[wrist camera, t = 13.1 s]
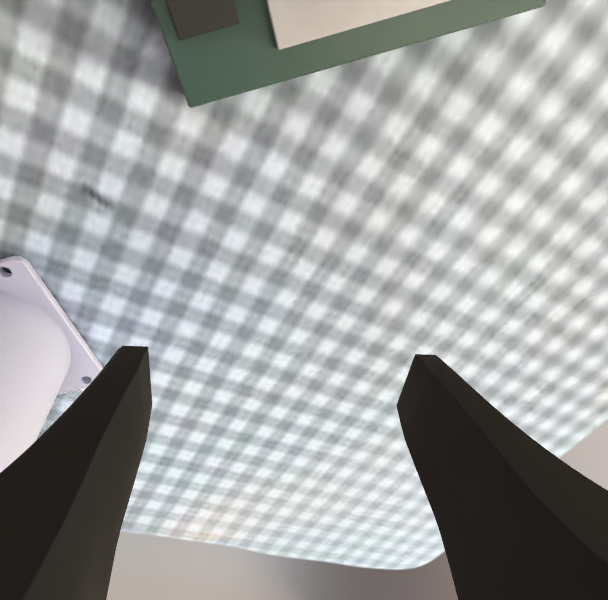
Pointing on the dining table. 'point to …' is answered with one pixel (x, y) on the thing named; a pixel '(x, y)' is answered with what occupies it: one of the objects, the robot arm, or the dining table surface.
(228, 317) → the dining table surface
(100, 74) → the dining table surface
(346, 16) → the scale
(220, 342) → the dining table surface
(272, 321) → the dining table surface
